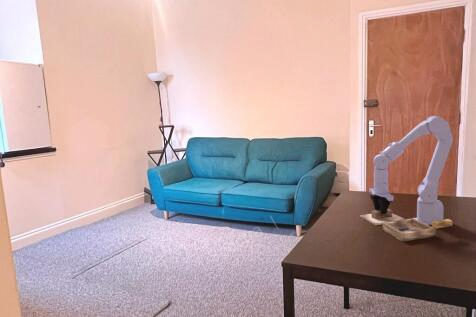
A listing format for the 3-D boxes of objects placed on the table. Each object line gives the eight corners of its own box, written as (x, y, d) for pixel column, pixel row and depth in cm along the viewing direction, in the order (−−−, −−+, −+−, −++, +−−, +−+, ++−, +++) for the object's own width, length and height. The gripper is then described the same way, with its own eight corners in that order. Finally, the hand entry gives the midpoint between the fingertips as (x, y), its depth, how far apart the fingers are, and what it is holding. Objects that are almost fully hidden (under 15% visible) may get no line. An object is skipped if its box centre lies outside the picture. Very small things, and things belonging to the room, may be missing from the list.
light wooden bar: (448, 224, 128) (448, 218, 128) (452, 225, 126) (452, 220, 126) (431, 226, 127) (431, 221, 126) (435, 228, 125) (436, 223, 125)
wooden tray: (413, 225, 140) (413, 218, 139) (435, 236, 128) (435, 228, 128) (382, 230, 137) (382, 223, 137) (402, 241, 126) (402, 234, 125)
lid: (387, 213, 157) (387, 204, 157) (409, 223, 143) (409, 214, 142) (359, 217, 155) (359, 208, 154) (379, 228, 140) (379, 218, 139)
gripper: (363, 179, 153) (363, 208, 156) (382, 187, 139) (382, 218, 142) (377, 177, 155) (377, 206, 157) (398, 185, 141) (397, 216, 143)
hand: (380, 212), depth 149 cm, fingers open, 4 cm apart
